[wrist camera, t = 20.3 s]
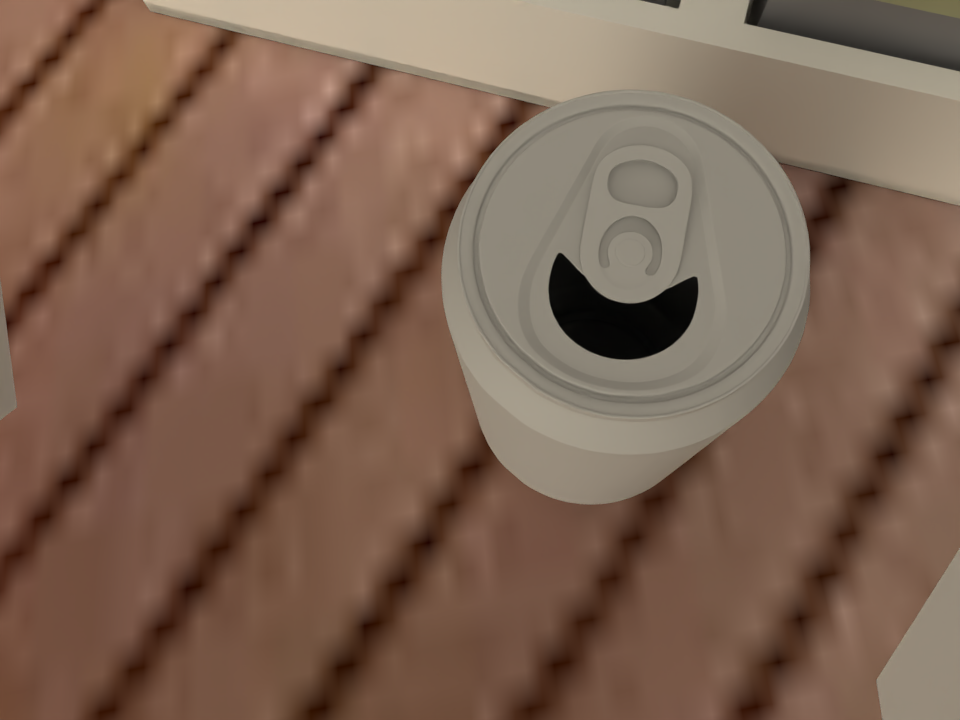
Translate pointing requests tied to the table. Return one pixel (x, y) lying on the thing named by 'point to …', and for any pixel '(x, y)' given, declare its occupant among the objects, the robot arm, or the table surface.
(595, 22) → the light grey piece
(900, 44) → the key olive
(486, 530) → the table surface
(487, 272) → the beverage can
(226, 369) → the table surface
